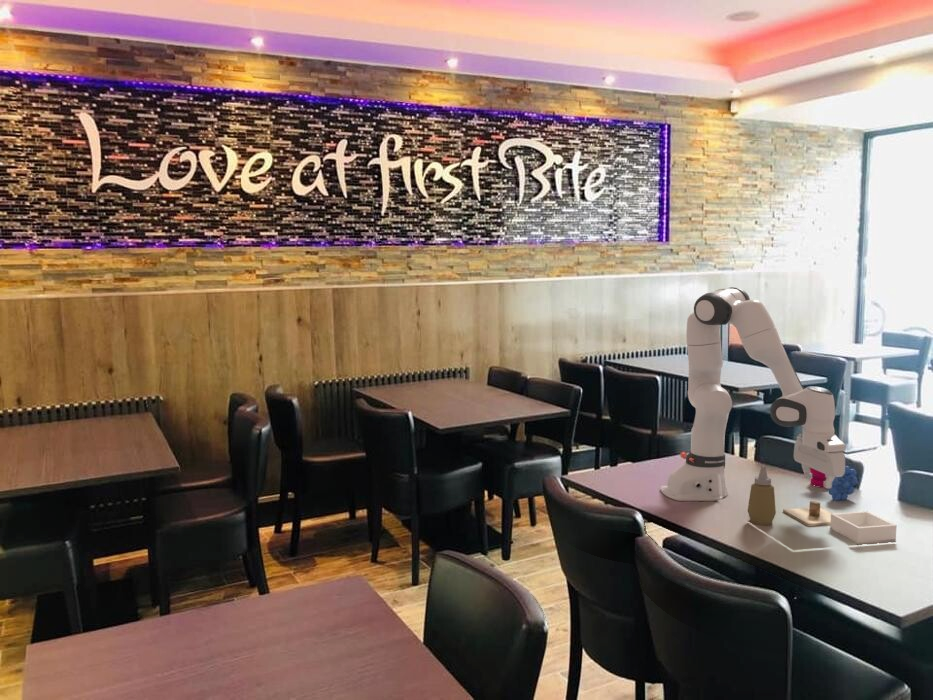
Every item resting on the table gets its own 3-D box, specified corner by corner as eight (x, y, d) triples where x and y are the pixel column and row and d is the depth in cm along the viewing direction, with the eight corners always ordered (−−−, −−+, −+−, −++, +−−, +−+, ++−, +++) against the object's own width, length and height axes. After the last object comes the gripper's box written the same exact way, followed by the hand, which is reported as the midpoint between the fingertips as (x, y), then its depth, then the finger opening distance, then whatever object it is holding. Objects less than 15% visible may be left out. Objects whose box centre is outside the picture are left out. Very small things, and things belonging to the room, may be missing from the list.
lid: (808, 526, 219) (809, 511, 218) (782, 511, 231) (783, 497, 231) (847, 523, 221) (848, 508, 220) (819, 509, 234) (820, 494, 233)
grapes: (844, 494, 249) (846, 460, 248) (861, 500, 243) (863, 466, 241) (818, 498, 245) (820, 464, 244) (834, 505, 239) (836, 469, 238)
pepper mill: (833, 488, 256) (836, 433, 254) (812, 487, 258) (814, 432, 255) (828, 482, 263) (830, 428, 261) (806, 481, 265) (809, 427, 262)
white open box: (857, 545, 206) (858, 528, 205) (830, 529, 217) (831, 513, 217) (895, 542, 207) (896, 525, 207) (866, 527, 219) (866, 511, 219)
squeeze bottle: (762, 529, 218) (765, 471, 216) (741, 521, 225) (743, 465, 223) (781, 525, 222) (783, 468, 219) (759, 517, 229) (761, 461, 227)
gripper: (788, 432, 232) (788, 474, 234) (830, 448, 212) (829, 493, 214) (806, 431, 233) (806, 472, 235) (849, 446, 213) (848, 492, 215)
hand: (817, 483), depth 224 cm, fingers open, 8 cm apart
